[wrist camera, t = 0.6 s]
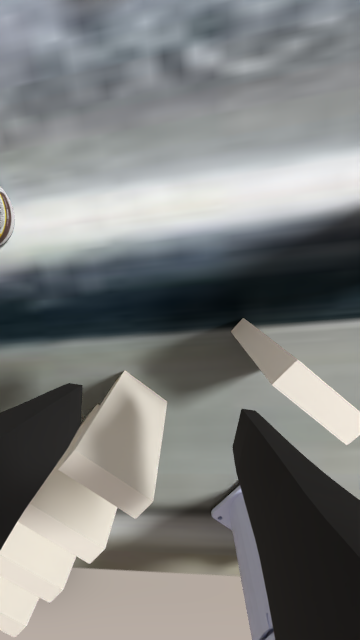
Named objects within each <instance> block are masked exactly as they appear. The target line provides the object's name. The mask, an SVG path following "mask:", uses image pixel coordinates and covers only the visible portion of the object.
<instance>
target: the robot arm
mask: <svg viewBox="0 0 360 640" xmlns="http://www.w3.org/2000/svg"><path fill="white" fill-rule="evenodd" d="M81 404H82V385H77V384H70V383H68V384H66V385H63V386H61V387H58V388H56V389H54V390H52V391H49V392H47V393H45V394H43V395H41V396H38V397H36V398H34V399H32V400H30V401H27V402H25V403H23V404H21V405H18V406H16V407H14V408H11V409H9V410H6V411H4V412H2V413H0V550H1V548H2V547H3V545H4V543H5V542H6V540H7V538H8V537H9V535H10V533H11V531H12V530H13V528H14V526H15V525H16V523H17V521H18V520H19V518H20V517H21V515H22V514H23V512H24V511H25V509H26V508H27V506H28V505H29V503H30V502H31V500H32V499H33V498H34V496H35V495H36V493H37V492H38V490H39V489H40V488H41V486H42V485H43V483H44V482H45V480H46V479H47V478H48V476H49V475H50V473H51V472H52V470H53V469H54V468H55V466H56V465H57V463H58V462H59V460H60V459H61V457H62V456H63V455H64V453H65V452H66V450H67V449H68V447H69V445H70V443H71V442H72V440H73V438H74V436H75V434H76V432H77V430H78V429H79V427H80V423H81ZM233 454H234V460H235V466H236V472H237V476H238V480H239V483H240V485H239V486H238V487H237V488H236V489H235V490H234V491H233V492H232V493H230V494H229V495H228V496H227V497H226V498H225V499H224V500H223V501H221V502H220V503H219V504H218V505H217V506H216V507H215V508H214V509H213V510H212V511H211V515H212V517H213V518H214V519H215V520H217V521H218V522H220V523H221V524H223V525H224V526H226V527H227V528H229V529H230V530H232V532H233V537H234V543H235V548H236V554H237V559H238V565H239V570H240V576H241V581H242V587H243V592H244V597H245V603H246V609H247V614H248V620H249V625H250V630H251V636H252V640H360V500H359V499H357V498H356V497H354V496H353V495H352V494H351V493H349V492H348V491H347V490H345V489H344V488H343V487H341V486H340V485H339V484H338V483H336V482H335V481H334V480H332V479H331V478H330V477H329V476H327V475H326V474H325V473H324V472H322V471H321V470H320V469H319V468H318V467H316V466H315V465H314V464H313V463H312V462H311V461H309V460H308V459H307V458H306V457H305V456H304V455H303V454H301V453H300V452H299V451H298V450H297V449H296V448H295V447H294V446H293V445H291V444H290V443H289V442H288V441H287V440H286V439H285V438H284V437H283V436H282V435H281V434H280V433H279V432H278V431H277V430H276V429H274V428H273V427H272V426H271V425H270V424H269V423H268V422H267V421H266V420H265V419H264V418H263V417H262V416H261V415H260V414H258V413H257V412H256V411H253V410H246V409H242V410H241V414H240V418H239V422H238V426H237V431H236V435H235V439H234V443H233Z"/></svg>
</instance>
